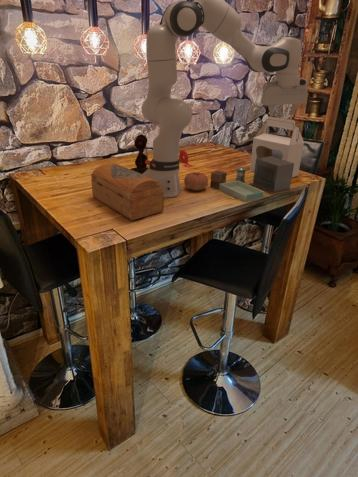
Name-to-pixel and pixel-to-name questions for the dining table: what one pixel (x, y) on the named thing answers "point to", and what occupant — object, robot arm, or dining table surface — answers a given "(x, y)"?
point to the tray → (241, 191)
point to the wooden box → (127, 191)
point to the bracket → (185, 159)
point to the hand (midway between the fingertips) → (281, 115)
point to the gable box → (278, 143)
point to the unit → (273, 175)
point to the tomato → (196, 181)
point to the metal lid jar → (240, 174)
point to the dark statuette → (141, 154)
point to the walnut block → (217, 179)
